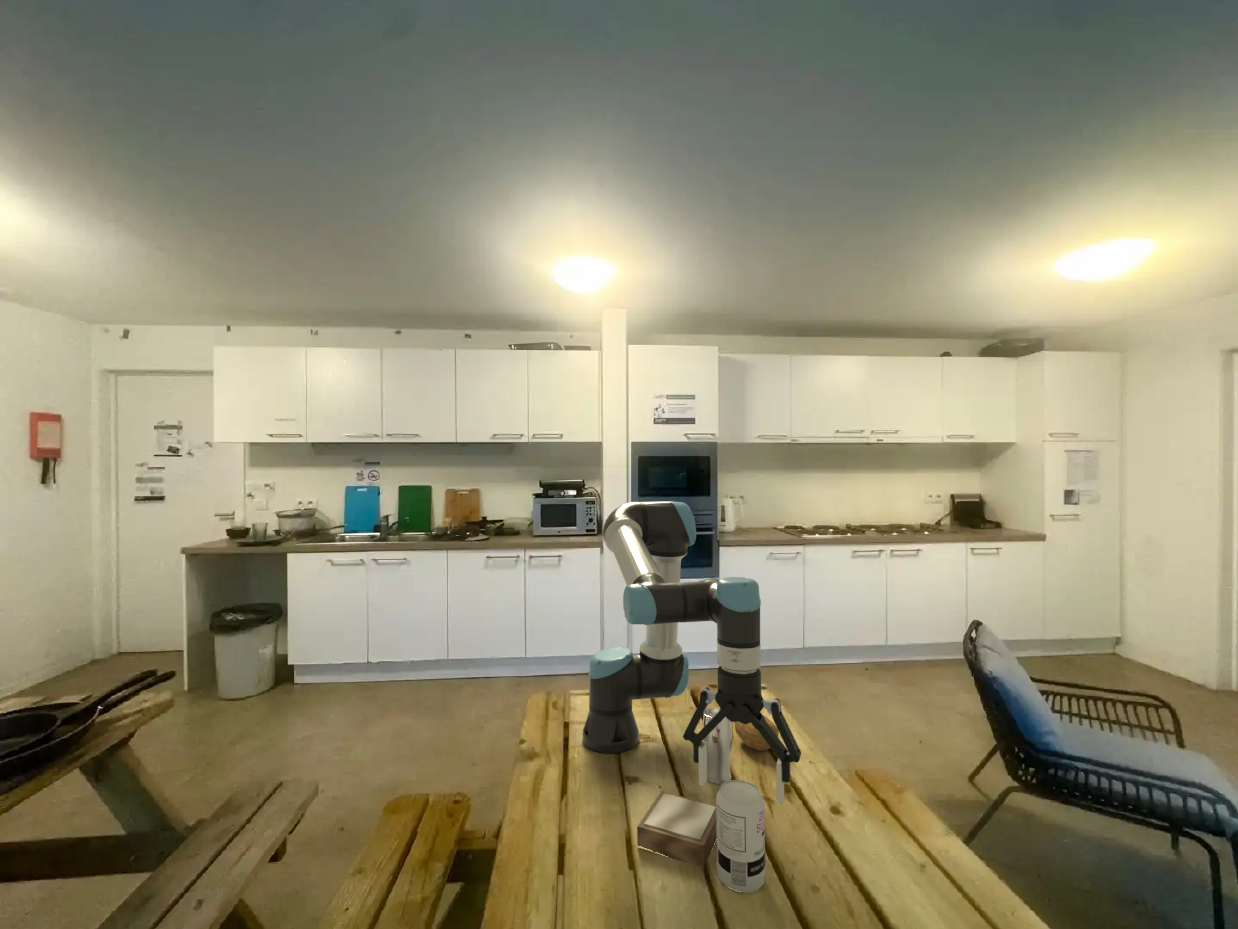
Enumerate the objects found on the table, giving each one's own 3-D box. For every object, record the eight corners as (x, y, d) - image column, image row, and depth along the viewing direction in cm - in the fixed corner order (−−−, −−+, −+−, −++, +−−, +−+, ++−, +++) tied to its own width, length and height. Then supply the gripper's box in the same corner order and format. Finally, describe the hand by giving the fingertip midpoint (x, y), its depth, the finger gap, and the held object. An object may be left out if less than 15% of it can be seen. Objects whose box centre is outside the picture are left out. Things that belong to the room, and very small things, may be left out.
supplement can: (711, 863, 98) (711, 779, 99) (755, 860, 99) (755, 777, 99) (724, 897, 90) (723, 806, 91) (772, 894, 91) (771, 803, 91)
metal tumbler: (736, 773, 128) (735, 709, 129) (729, 788, 122) (728, 721, 123) (707, 767, 131) (707, 704, 132) (699, 781, 125) (698, 715, 125)
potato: (754, 731, 150) (754, 702, 150) (788, 755, 137) (788, 723, 137) (724, 738, 146) (724, 708, 147) (756, 762, 133) (756, 730, 134)
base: (637, 848, 102) (637, 825, 102) (661, 810, 114) (661, 789, 114) (703, 868, 97) (703, 844, 97) (722, 826, 108) (722, 805, 109)
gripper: (665, 664, 98) (666, 784, 97) (811, 684, 87) (813, 820, 86) (678, 652, 104) (679, 765, 103) (815, 670, 94) (818, 796, 93)
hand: (740, 790), depth 95 cm, fingers open, 13 cm apart
